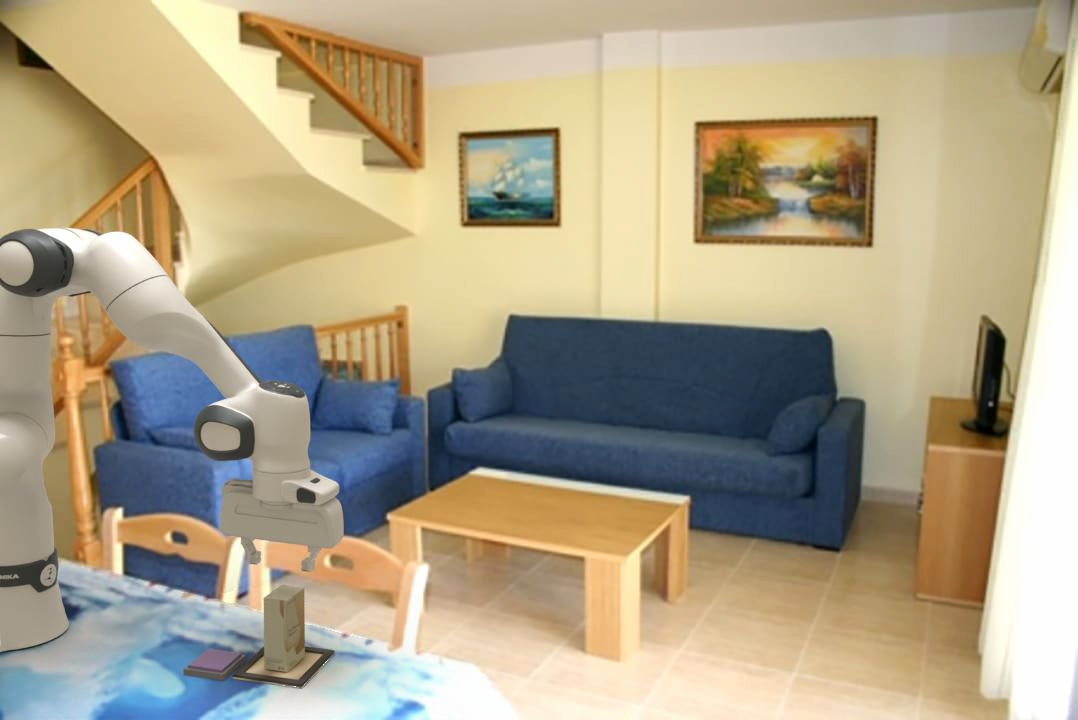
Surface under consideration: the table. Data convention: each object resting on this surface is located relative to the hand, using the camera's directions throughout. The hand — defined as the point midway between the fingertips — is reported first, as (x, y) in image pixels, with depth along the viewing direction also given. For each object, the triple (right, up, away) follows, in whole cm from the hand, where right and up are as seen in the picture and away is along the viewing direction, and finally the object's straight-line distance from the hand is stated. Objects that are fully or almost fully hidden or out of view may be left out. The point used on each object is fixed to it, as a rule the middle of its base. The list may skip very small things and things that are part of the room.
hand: (281, 566), depth 151 cm
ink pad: (-11, -17, +2) cm, 20 cm away
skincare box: (0, -17, +3) cm, 17 cm away
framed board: (0, -17, +3) cm, 17 cm away
